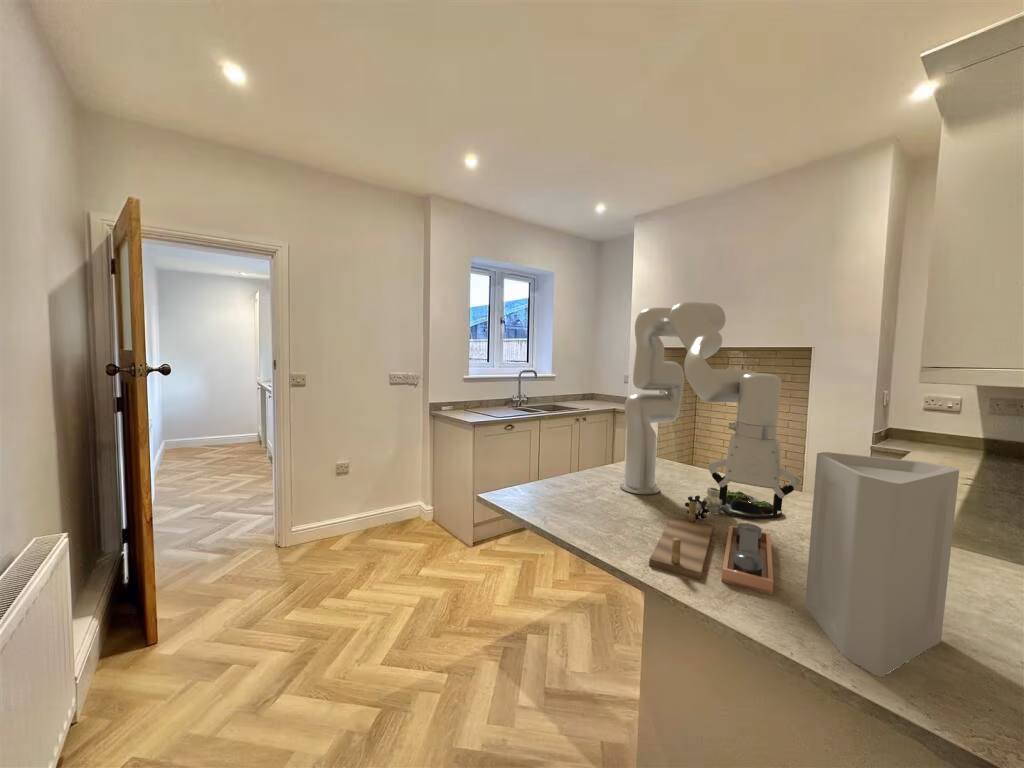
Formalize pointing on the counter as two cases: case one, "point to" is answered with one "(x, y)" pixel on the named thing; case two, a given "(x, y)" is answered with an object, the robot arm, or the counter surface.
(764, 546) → the slot holder
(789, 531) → the counter surface
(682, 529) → the board
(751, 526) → the grey long knobbed bar
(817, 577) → the paper bag
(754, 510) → the salad plate
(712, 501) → the valve
